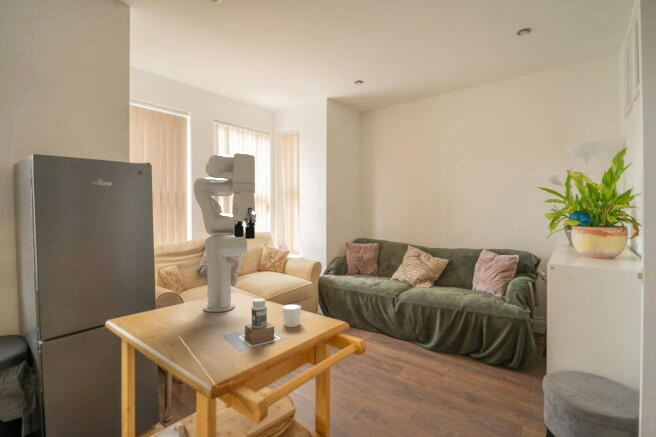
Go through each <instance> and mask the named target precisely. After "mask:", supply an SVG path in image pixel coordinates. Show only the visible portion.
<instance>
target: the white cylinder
mask: <svg viewBox="0 0 656 437" xmlns="http://www.w3.org/2000/svg"><path fill="white" fill-rule="evenodd" d="M281 308H282V318H283V321H282V322H283V326H285V327H288V328H291V327H293V328H294V327H298V326H300V325H301V323H300V322H301V314H302V313H301V312H302V311H301V310H302V306H301V305H300V304H297V303H296V304H295V303H290V304H285V305H283V306H282V307H281Z"/></svg>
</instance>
